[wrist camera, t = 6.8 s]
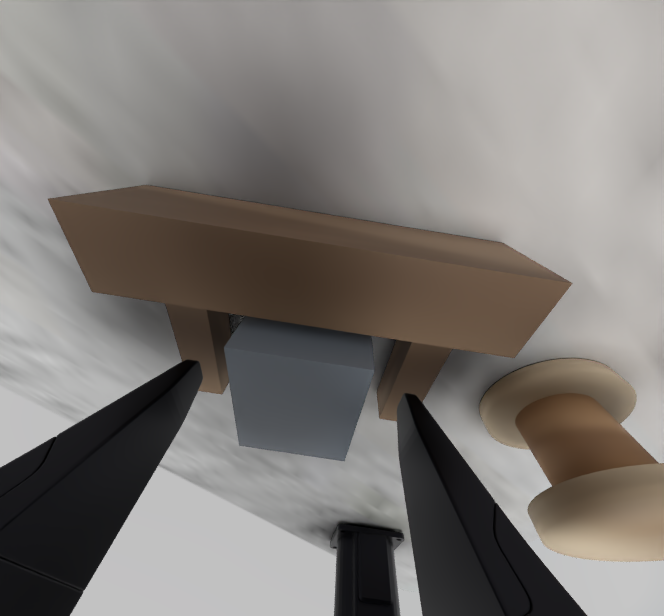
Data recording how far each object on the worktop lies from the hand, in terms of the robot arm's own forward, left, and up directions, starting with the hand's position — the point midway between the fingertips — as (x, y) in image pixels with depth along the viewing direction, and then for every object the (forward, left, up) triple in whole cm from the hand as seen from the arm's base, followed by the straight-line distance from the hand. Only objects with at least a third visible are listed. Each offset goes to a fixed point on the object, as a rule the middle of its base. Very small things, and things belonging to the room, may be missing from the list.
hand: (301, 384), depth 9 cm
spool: (-2, -12, -3) cm, 12 cm away
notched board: (+1, 0, -3) cm, 3 cm away
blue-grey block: (0, 0, -3) cm, 3 cm away
